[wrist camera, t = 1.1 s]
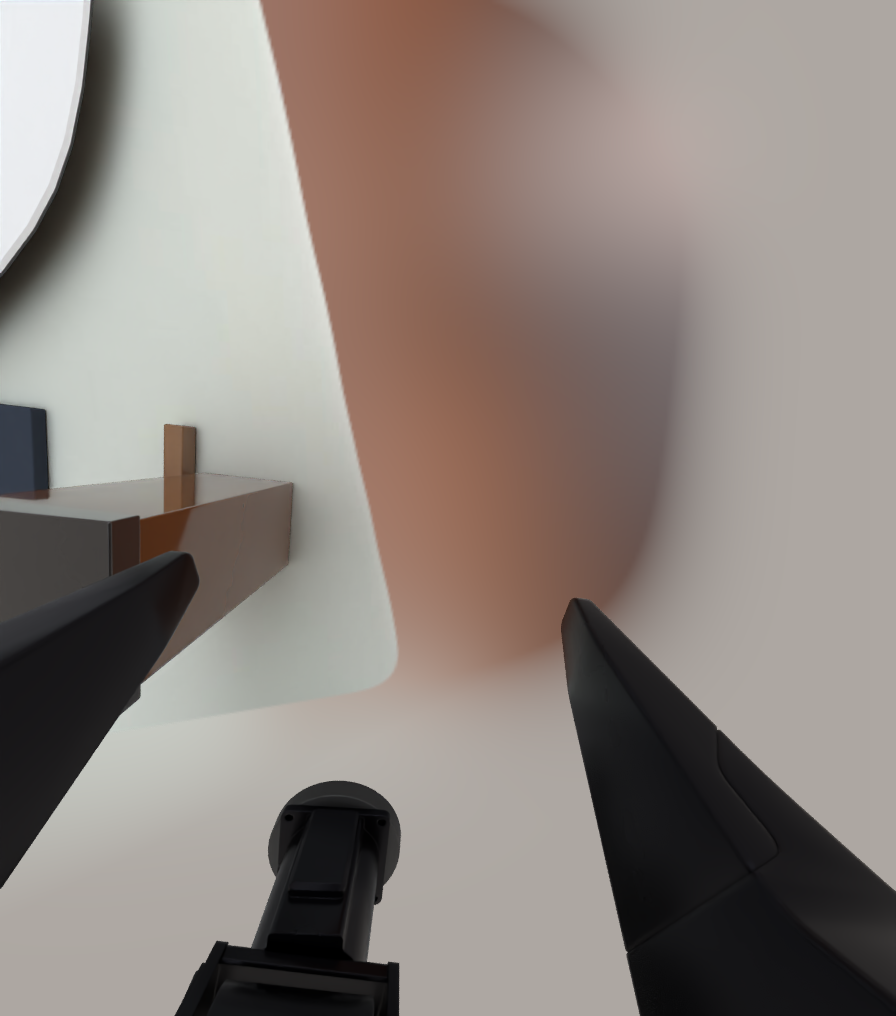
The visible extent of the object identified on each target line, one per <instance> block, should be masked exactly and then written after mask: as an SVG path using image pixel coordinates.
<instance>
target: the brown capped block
mask: <svg viewBox="0 0 896 1016" xmlns="http://www.w3.org/2000/svg"><path fill="white" fill-rule="evenodd" d="M292 491H293V483H292V482H284V481H275V480H266V479H257V478H248V477H239V476H230V475H221V474H212V473H198V474H188V475H179V476H169V477H160V478H150V479H140V480H131V481H121V482H112V483H102V484H92V485H83V486H73V487H64V488H54V489H44V490H35V491H25V492H16V493H6V494H0V623H1V622H3V621H5V620H8V619H10V618H13V617H15V616H17V615H20V614H22V613H24V612H27V611H29V610H31V609H34V608H36V607H39V606H41V605H43V604H46V603H48V602H50V601H53V600H55V599H57V598H60V597H62V596H64V595H67V594H69V593H72V592H74V591H76V590H79V589H81V588H83V587H86V586H88V585H90V584H93V583H95V582H97V581H100V580H102V579H105V578H107V577H109V576H112V575H114V574H116V573H119V572H121V571H123V570H126V569H128V568H131V567H133V566H135V565H138V564H140V563H142V562H145V561H147V560H149V559H152V558H154V557H156V556H159V555H161V554H164V553H166V552H168V551H181V552H188V553H190V554H191V555H192V556H193V558H194V562H195V565H196V568H197V571H198V575H199V579H200V583H199V587H198V590H197V592H196V593H195V595H194V597H193V599H192V601H191V603H190V604H189V606H188V608H187V610H186V612H185V614H184V615H183V617H182V619H181V621H180V623H179V625H178V626H177V628H176V630H175V632H174V634H173V636H172V637H171V639H170V641H169V643H168V644H167V646H166V648H165V649H164V651H163V652H162V654H161V655H160V657H159V658H158V660H157V661H156V663H155V664H154V666H153V667H152V669H151V670H150V672H149V673H148V674H147V676H146V677H145V679H144V680H143V682H144V681H146V680H147V679H148V678H149V677H150V676H152V675H153V674H154V673H155V672H157V671H158V670H159V669H160V668H162V667H163V666H164V665H165V664H166V663H168V662H169V661H170V660H171V659H173V658H174V657H175V656H176V655H178V654H179V653H180V652H181V651H182V650H184V649H185V648H186V647H187V646H189V645H190V644H191V643H192V642H194V641H195V640H196V639H197V638H198V637H200V636H201V635H202V634H203V633H205V632H206V631H207V630H208V629H210V628H211V627H212V626H213V625H214V624H216V623H217V622H218V621H219V620H221V619H222V618H223V617H224V616H226V615H227V614H228V613H229V612H230V611H232V610H233V609H234V608H235V607H237V606H238V605H239V604H240V603H242V602H243V601H244V600H245V599H246V598H248V597H249V596H250V595H251V594H253V593H254V592H255V591H256V590H258V589H259V588H260V587H261V586H262V585H264V584H265V583H266V582H267V581H269V580H270V579H271V578H272V577H274V576H275V575H276V574H277V573H278V572H280V571H281V570H282V569H283V568H285V567H286V566H287V565H288V561H289V543H290V526H291V509H292ZM143 682H142V683H143ZM142 683H141V684H142ZM140 696H141V685H140V686H139V688H138V689H137V691H136V692H135V693H134V695H133V696H132V698H131V699H130V701H129V702H128V704H127V705H126V707H125V708H124V710H123V711H122V712H121V714H122V713H123V712H124V711H125V710H127V709H128V708H129V707H130V706H131V705H132V704H134V703H135V702H136V701H137V700H138V699H139V698H140ZM121 714H120V715H121ZM120 715H119V716H120Z"/></svg>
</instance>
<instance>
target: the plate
mask: <svg viewBox="0 0 896 1016" xmlns="http://www.w3.org/2000/svg"><path fill="white" fill-rule="evenodd" d="M92 11H93V0H0V277H1V276H2V275H3V274H4V273H5V272H6V271H7V270H8V268H9V267H10V266H11V264H12V263H13V262H14V260H15V259H16V258H17V256H18V255H19V253H20V252H21V251H22V249H23V248H24V247H25V245H26V244H27V243H28V241H29V240H30V239H31V237H32V236H33V235H34V233H35V232H36V231H37V229H38V227H39V225H40V223H41V221H42V219H43V217H44V216H45V214H46V212H47V210H48V208H49V206H50V204H51V203H52V201H53V199H54V197H55V195H56V193H57V191H58V188H59V185H60V183H61V180H62V177H63V174H64V171H65V168H66V165H67V162H68V159H69V157H70V154H71V151H72V148H73V144H74V139H75V134H76V129H77V124H78V119H79V114H80V109H81V104H82V99H83V94H84V88H85V79H86V70H87V61H88V51H89V42H90V33H91V23H92Z"/></svg>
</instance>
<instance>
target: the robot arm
mask: <svg viewBox="0 0 896 1016" xmlns="http://www.w3.org/2000/svg"><path fill="white" fill-rule="evenodd" d="M199 583H200V579H199V575H198V571H197V568H196V565H195V562H194V558H193V556H192V555H191V554H190V553H188V552H181V551H168V552H166V553H164V554H161V555H159V556H156V557H154V558H152V559H149V560H147V561H145V562H142V563H140V564H138V565H135V566H133V567H131V568H128V569H126V570H123V571H121V572H119V573H116V574H114V575H112V576H109V577H107V578H105V579H102V580H100V581H97V582H95V583H93V584H90V585H88V586H86V587H83V588H81V589H79V590H76V591H74V592H72V593H69V594H67V595H64V596H62V597H60V598H57V599H55V600H53V601H50V602H48V603H46V604H43V605H41V606H39V607H36V608H34V609H31V610H29V611H27V612H24V613H22V614H20V615H17V616H15V617H13V618H10V619H8V620H5V621H3V622H1V623H0V889H1V888H2V887H3V885H4V883H5V882H6V881H7V879H8V878H9V876H10V875H11V873H12V872H13V870H14V869H15V867H16V866H17V865H18V863H19V861H20V860H21V859H22V857H23V856H24V854H25V853H26V851H27V850H28V848H29V847H30V846H31V844H32V843H33V841H34V840H35V838H36V837H37V835H38V834H39V832H40V831H41V829H42V828H43V826H44V825H45V824H46V822H47V821H48V819H49V818H50V816H51V815H52V813H53V812H54V810H55V809H56V808H57V806H58V804H59V803H60V802H61V800H62V799H63V797H64V796H65V794H66V793H67V791H68V790H69V788H70V787H71V786H72V784H73V783H74V781H75V779H76V778H77V777H78V775H79V774H80V772H81V771H82V769H83V768H84V767H85V765H86V764H87V762H88V761H89V759H90V758H91V756H92V755H93V753H94V752H95V750H96V749H97V748H98V746H99V745H100V743H101V742H102V740H103V739H104V737H105V736H106V734H107V733H108V731H109V730H110V729H111V727H112V726H113V724H114V723H115V721H116V720H117V718H118V717H119V715H120V714H121V712H122V711H123V710H124V708H125V707H126V705H127V704H128V702H129V701H130V699H131V698H132V696H133V695H134V693H135V692H136V691H137V689H138V688H139V686H140V685H141V683H142V682H143V680H144V679H145V677H146V676H147V674H148V673H149V672H150V670H151V669H152V667H153V666H154V664H155V663H156V661H157V660H158V658H159V657H160V655H161V654H162V652H163V651H164V649H165V648H166V646H167V644H168V643H169V641H170V639H171V637H172V636H173V634H174V632H175V630H176V628H177V626H178V625H179V623H180V621H181V619H182V617H183V615H184V614H185V612H186V610H187V608H188V606H189V604H190V603H191V601H192V599H193V597H194V595H195V593H196V592H197V590H198V587H199ZM561 633H562V643H563V652H564V661H565V670H566V678H567V687H568V694H569V699H570V704H571V708H572V713H573V717H574V722H575V726H576V730H577V735H578V740H579V744H580V749H581V753H582V757H583V762H584V766H585V771H586V775H587V780H588V784H589V788H590V793H591V798H592V802H593V807H594V811H595V816H596V820H597V825H598V829H599V833H600V838H601V842H602V847H603V851H604V856H605V860H606V865H607V869H608V874H609V878H610V883H611V887H612V892H613V896H614V901H615V905H616V910H617V914H618V918H619V923H620V928H621V932H622V936H623V941H624V946H625V949H626V951H627V952H628V953H627V960H628V964H629V969H630V974H631V978H632V982H633V987H634V992H635V996H636V1000H637V1005H638V1009H639V1014H640V1016H896V891H895V890H893V889H892V888H891V887H890V886H889V885H888V884H887V883H885V882H884V881H883V880H882V879H881V878H880V877H879V876H878V875H876V874H875V873H874V872H873V871H872V870H871V869H870V868H869V867H868V866H866V865H865V864H864V863H863V862H862V861H861V860H860V859H859V858H857V857H856V856H855V855H854V854H853V853H852V852H851V851H849V850H848V849H847V848H846V847H845V846H844V845H843V844H842V843H841V842H840V841H838V840H837V839H836V838H835V837H834V836H833V835H832V834H831V833H829V832H828V831H827V830H826V829H825V828H824V827H823V826H822V825H821V824H819V823H818V822H817V821H816V820H815V819H814V818H813V817H811V816H810V815H809V814H808V813H807V812H806V811H805V810H804V809H803V808H802V807H800V806H799V805H798V804H797V803H796V802H795V801H794V800H793V799H792V798H791V797H790V796H788V795H787V794H786V793H785V792H784V791H783V790H782V789H781V788H780V787H778V786H777V785H776V784H775V783H774V782H773V781H772V780H771V779H770V778H769V777H768V776H767V775H765V773H764V772H762V771H761V770H760V769H759V768H758V767H757V766H756V765H755V764H754V763H753V762H752V761H751V760H750V759H749V758H748V757H747V756H746V755H745V754H744V753H743V752H742V751H740V749H739V748H738V747H737V746H736V745H735V744H733V742H732V741H731V740H730V739H729V738H728V737H727V736H726V735H725V734H724V733H723V732H722V731H721V730H717V727H716V725H715V724H714V723H713V722H712V721H711V720H709V719H708V717H707V716H706V715H705V714H704V713H703V712H702V711H701V710H700V709H698V707H697V706H696V705H695V704H693V702H692V701H691V700H689V698H688V697H687V696H686V695H684V693H683V692H682V691H681V690H680V689H679V688H678V687H677V686H675V684H674V683H673V682H672V681H670V679H668V677H667V676H666V675H665V674H664V673H663V672H661V670H660V669H659V668H658V667H657V666H656V665H655V664H654V663H653V662H651V660H650V659H649V658H648V657H647V656H646V655H645V654H644V653H643V652H642V651H641V650H640V649H638V647H637V646H636V645H635V644H634V643H633V642H632V641H631V640H630V639H629V638H628V637H627V636H626V635H625V634H624V633H623V632H622V631H621V630H620V629H619V628H617V626H616V625H615V624H614V623H613V622H612V621H611V620H610V619H609V618H608V617H607V616H606V615H605V614H604V613H603V612H602V611H601V610H600V609H599V608H598V607H597V606H596V605H595V604H594V603H593V602H592V601H590V600H588V599H581V598H573V599H571V600H570V602H569V605H568V607H567V610H566V613H565V615H564V618H563V620H562V624H561ZM289 814H291V815H289ZM381 819H383V820H381ZM390 819H391V816H390V813H389V812H388V811H387V810H381V809H363V808H346V807H328V806H311V805H293V804H291V805H287V806H286V807H285V808H284V810H283V812H282V815H281V820H280V836H279V853H278V869H277V877H276V880H275V883H274V885H273V888H272V891H271V894H270V897H269V899H268V902H267V905H266V908H265V910H264V913H263V916H262V919H261V921H260V924H259V927H258V930H257V933H256V936H255V938H254V941H253V944H252V947H251V948H247V947H239V946H231V945H228V942H222V941H216V943H215V945H214V947H213V949H212V951H211V953H210V954H209V956H208V958H207V960H206V963H202V964H201V966H200V968H199V970H198V971H196V972H195V974H194V977H193V979H192V981H191V983H190V986H189V988H188V990H187V992H186V994H185V997H184V999H183V1001H182V1003H181V1005H180V1007H179V1009H178V1010H177V1012H176V1014H175V1016H399V963H394V962H388V964H380V963H371V962H367V956H368V948H369V941H370V932H371V924H372V916H373V908H374V905H376V904H378V903H379V902H380V901H381V899H382V890H383V882H384V873H385V864H386V855H387V846H388V837H389V828H390Z"/></svg>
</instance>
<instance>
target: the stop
mask: <svg viewBox="0 0 896 1016" xmlns="http://www.w3.org/2000/svg"><path fill="white" fill-rule="evenodd" d="M195 437H196V429H195V427H189V426H181V425H171V424H165V425H164V477H169V476H179V475H188V474H195Z"/></svg>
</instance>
